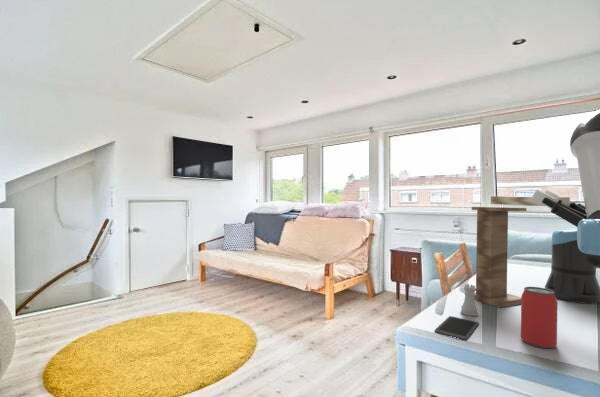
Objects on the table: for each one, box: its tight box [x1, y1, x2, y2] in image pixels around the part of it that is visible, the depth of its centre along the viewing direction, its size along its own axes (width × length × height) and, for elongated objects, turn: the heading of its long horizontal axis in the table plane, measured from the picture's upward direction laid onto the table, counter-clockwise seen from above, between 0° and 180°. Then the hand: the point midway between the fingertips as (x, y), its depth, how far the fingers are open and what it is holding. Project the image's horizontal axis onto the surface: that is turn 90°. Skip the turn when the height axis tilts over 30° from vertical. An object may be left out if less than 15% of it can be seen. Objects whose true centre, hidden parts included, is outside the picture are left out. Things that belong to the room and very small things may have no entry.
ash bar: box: [490, 195, 571, 207], centre depth 96 cm, size 20×4×2 cm, turn 24°
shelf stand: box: [471, 206, 527, 309], centre depth 104 cm, size 10×12×30 cm
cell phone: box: [434, 315, 480, 341], centre depth 81 cm, size 7×14×1 cm, turn 140°
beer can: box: [520, 286, 559, 349], centre depth 73 cm, size 7×7×12 cm
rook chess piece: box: [460, 283, 479, 317], centre depth 92 cm, size 4×4×8 cm
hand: (540, 194), depth 93 cm, fingers closed on ash bar, 4 cm apart
